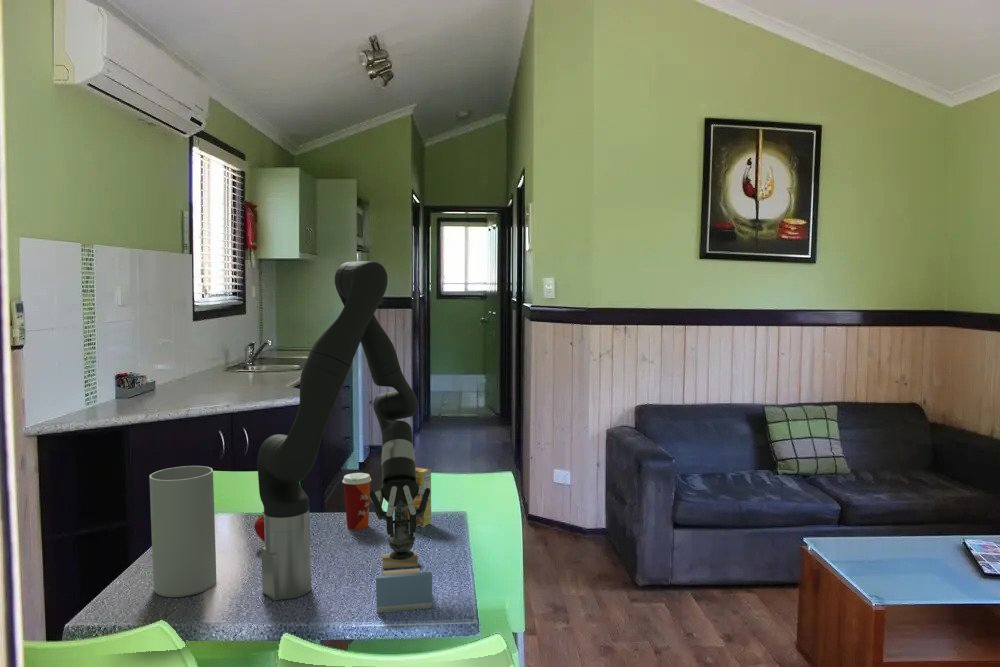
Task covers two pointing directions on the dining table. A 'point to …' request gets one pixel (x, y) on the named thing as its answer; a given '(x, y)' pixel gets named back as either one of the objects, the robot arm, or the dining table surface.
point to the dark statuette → (401, 535)
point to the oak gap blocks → (400, 565)
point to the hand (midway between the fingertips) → (402, 534)
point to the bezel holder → (404, 592)
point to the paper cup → (357, 500)
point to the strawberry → (260, 527)
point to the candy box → (423, 482)
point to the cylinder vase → (183, 530)
